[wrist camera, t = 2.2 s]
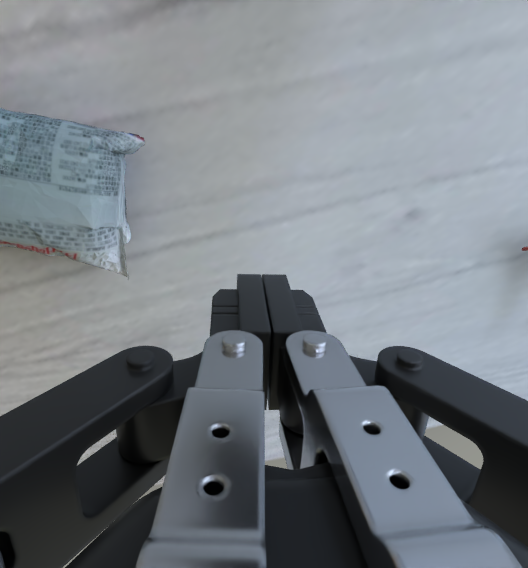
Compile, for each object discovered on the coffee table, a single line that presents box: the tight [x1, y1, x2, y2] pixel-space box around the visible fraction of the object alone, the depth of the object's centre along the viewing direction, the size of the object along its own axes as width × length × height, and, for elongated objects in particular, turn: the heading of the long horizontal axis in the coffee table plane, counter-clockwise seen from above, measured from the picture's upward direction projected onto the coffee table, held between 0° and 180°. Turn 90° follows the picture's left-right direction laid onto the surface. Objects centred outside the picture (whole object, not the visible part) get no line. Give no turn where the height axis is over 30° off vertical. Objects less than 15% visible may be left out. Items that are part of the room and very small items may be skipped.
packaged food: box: [0, 108, 145, 280], centre depth 24 cm, size 9×12×5 cm
